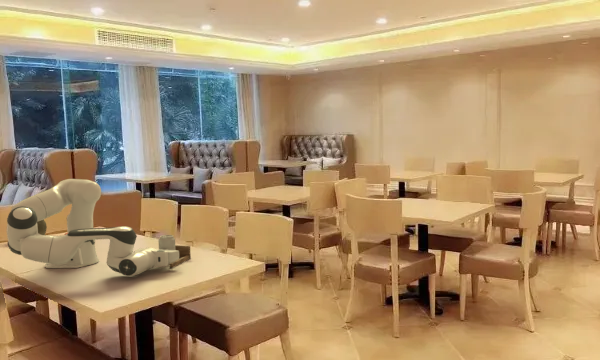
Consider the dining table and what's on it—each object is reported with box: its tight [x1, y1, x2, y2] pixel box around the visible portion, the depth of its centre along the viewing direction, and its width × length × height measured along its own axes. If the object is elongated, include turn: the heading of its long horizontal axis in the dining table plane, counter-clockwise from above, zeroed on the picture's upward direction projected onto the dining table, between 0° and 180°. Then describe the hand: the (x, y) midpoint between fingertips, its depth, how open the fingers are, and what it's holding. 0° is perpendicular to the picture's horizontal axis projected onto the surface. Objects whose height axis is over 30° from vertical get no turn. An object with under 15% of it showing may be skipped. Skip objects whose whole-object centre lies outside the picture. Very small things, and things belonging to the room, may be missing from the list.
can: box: [157, 234, 176, 250], centre depth 235 cm, size 8×8×12 cm
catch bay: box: [169, 244, 192, 269], centre depth 234 cm, size 17×13×6 cm
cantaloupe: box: [37, 219, 48, 235], centre depth 288 cm, size 14×14×15 cm
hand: (165, 250), depth 231 cm, fingers closed
